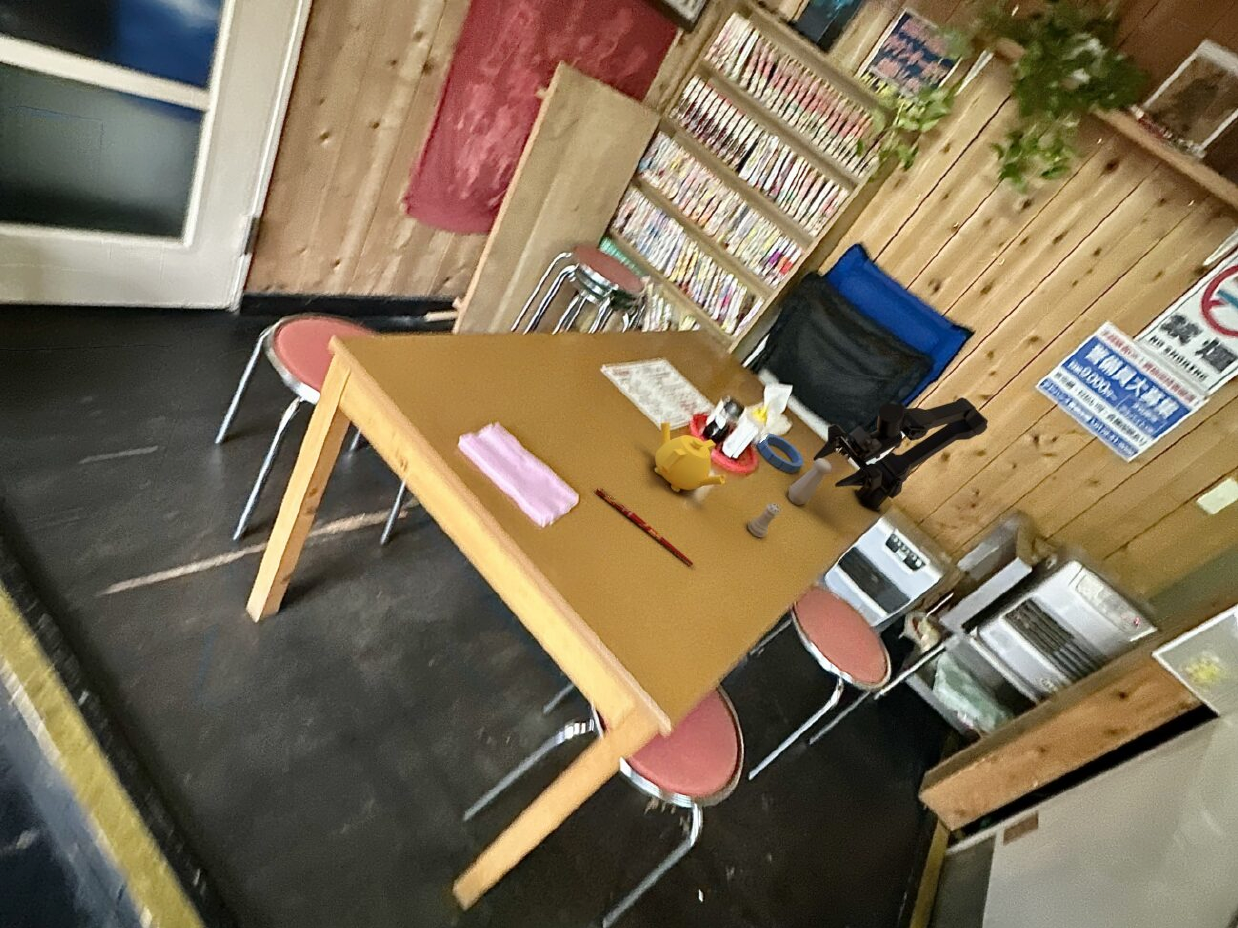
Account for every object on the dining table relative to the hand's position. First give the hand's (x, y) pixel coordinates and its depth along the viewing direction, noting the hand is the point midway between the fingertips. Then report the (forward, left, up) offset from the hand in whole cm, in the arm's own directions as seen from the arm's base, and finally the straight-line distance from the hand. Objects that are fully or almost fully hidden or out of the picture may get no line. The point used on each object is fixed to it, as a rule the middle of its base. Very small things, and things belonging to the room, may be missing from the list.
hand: (824, 472), depth 185 cm
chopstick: (+49, +32, -10) cm, 60 cm away
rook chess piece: (+19, +20, -10) cm, 30 cm away
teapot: (+39, +11, -10) cm, 42 cm away
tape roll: (+2, -17, -10) cm, 20 cm away
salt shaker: (+2, +1, -10) cm, 10 cm away
